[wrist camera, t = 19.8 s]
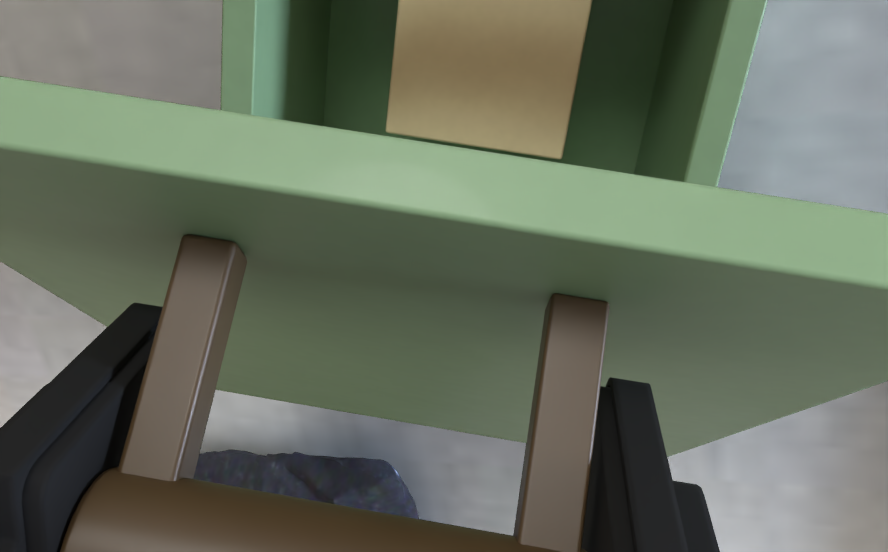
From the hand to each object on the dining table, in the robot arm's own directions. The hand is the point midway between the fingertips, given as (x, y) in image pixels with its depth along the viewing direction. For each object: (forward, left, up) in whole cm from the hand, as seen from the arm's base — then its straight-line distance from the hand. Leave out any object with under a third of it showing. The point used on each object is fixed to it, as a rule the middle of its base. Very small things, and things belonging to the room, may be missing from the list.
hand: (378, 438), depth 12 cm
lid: (+1, 0, -5) cm, 5 cm away
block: (-3, 0, -20) cm, 21 cm away
